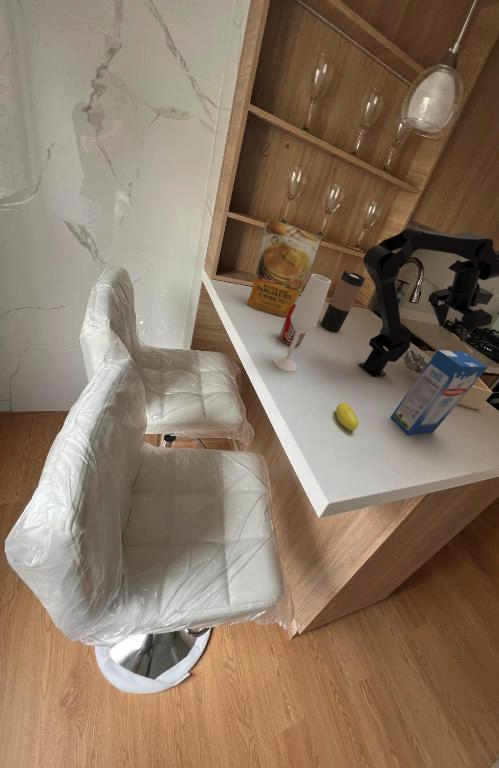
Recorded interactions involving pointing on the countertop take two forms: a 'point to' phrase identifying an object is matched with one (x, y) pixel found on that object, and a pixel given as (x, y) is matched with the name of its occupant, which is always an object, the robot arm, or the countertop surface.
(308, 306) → the champagne flute
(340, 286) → the travel mug
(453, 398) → the milk carton
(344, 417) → the lemon
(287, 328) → the soda can
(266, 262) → the pancake mix bag
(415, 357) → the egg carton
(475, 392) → the cardboard box
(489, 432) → the countertop surface
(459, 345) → the lid
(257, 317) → the countertop surface
